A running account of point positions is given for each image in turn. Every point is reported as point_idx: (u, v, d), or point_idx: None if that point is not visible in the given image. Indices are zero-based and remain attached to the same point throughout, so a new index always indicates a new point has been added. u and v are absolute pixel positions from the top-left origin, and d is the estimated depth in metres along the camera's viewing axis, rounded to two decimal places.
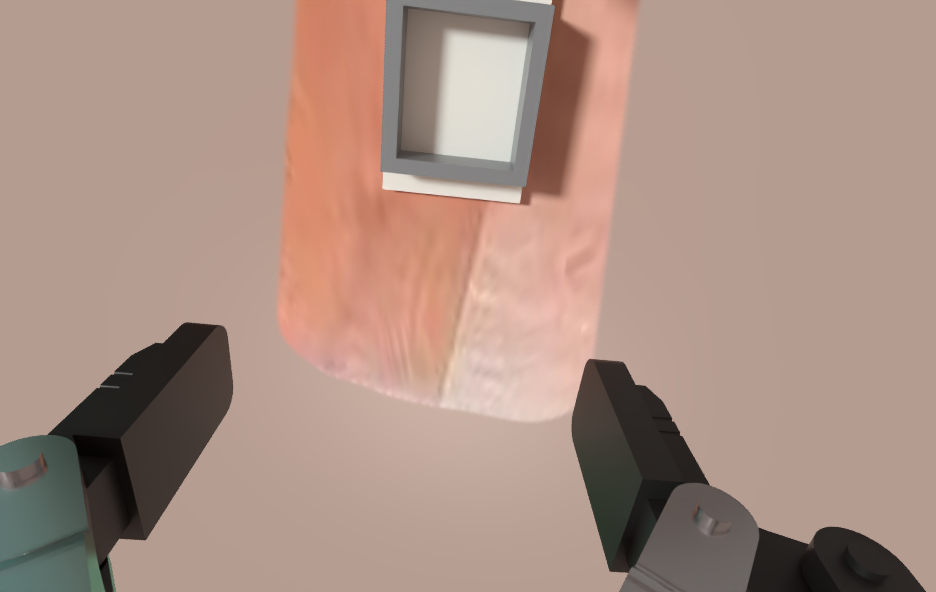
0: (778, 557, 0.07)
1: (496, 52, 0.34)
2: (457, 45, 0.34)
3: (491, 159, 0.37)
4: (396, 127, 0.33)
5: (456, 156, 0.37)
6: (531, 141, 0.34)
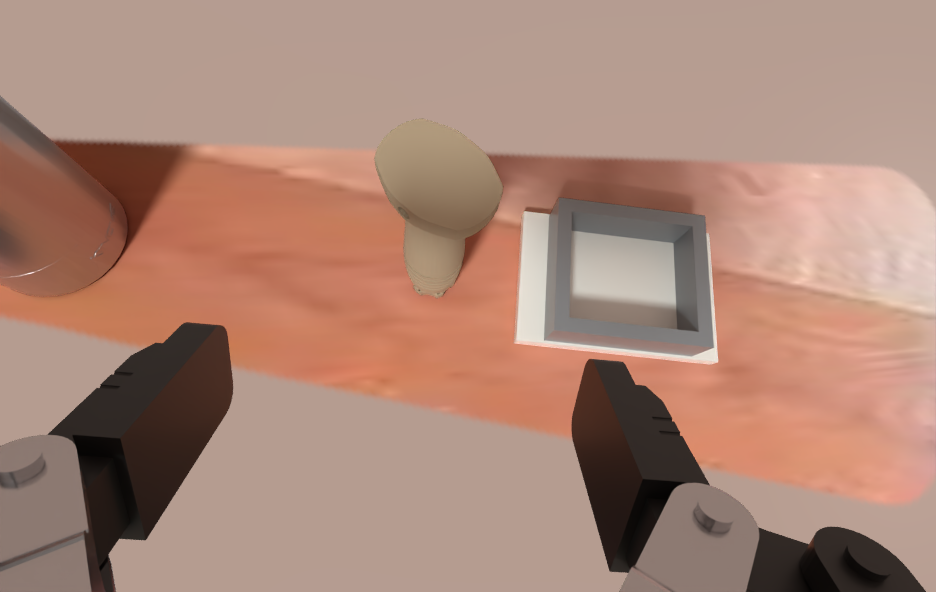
0: (778, 557, 0.07)
1: (584, 255, 0.39)
2: (582, 287, 0.38)
3: (673, 258, 0.40)
4: (670, 329, 0.35)
5: (676, 289, 0.39)
6: (664, 212, 0.37)
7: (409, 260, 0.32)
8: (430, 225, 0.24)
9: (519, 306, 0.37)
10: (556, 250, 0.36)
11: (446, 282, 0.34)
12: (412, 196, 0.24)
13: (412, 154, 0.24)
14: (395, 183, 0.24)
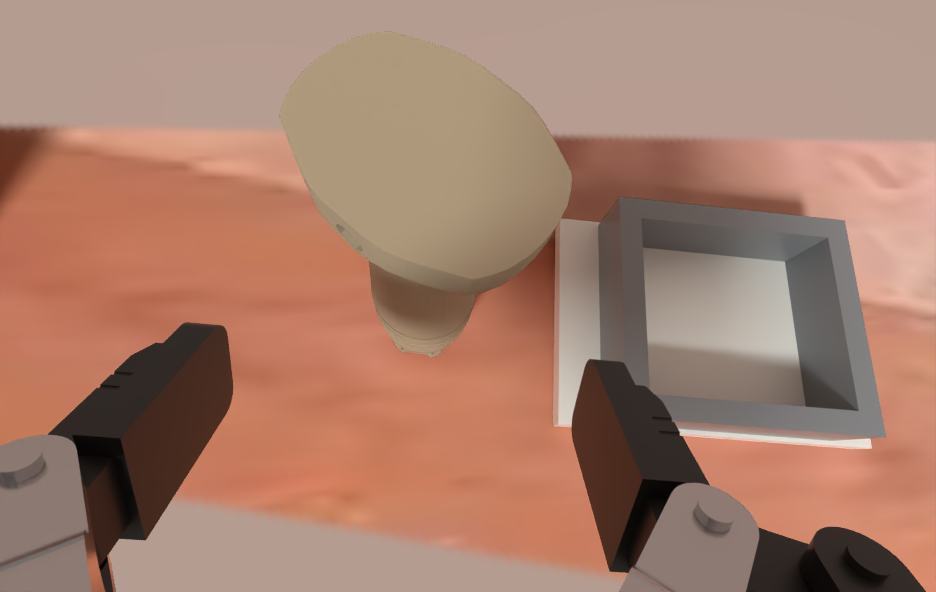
0: (778, 557, 0.07)
1: (655, 284, 0.26)
2: (655, 334, 0.25)
3: (788, 285, 0.26)
4: (813, 408, 0.21)
5: (797, 333, 0.25)
6: (783, 216, 0.24)
7: (381, 311, 0.18)
8: (410, 268, 0.10)
9: (560, 368, 0.24)
10: (620, 281, 0.22)
11: (446, 341, 0.20)
12: (367, 201, 0.10)
13: (367, 106, 0.11)
14: (326, 170, 0.10)
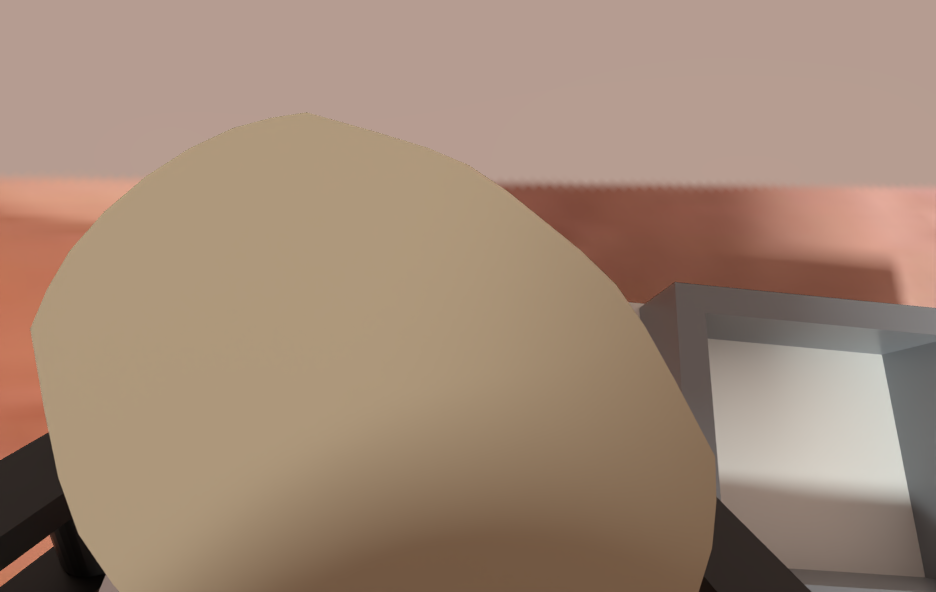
0: None
1: (716, 388, 0.19)
2: (719, 460, 0.19)
3: (888, 388, 0.20)
4: None
5: (905, 456, 0.19)
6: (894, 307, 0.18)
7: None
8: None
9: None
10: None
11: None
12: (222, 565, 0.04)
13: (244, 296, 0.05)
14: (128, 479, 0.04)
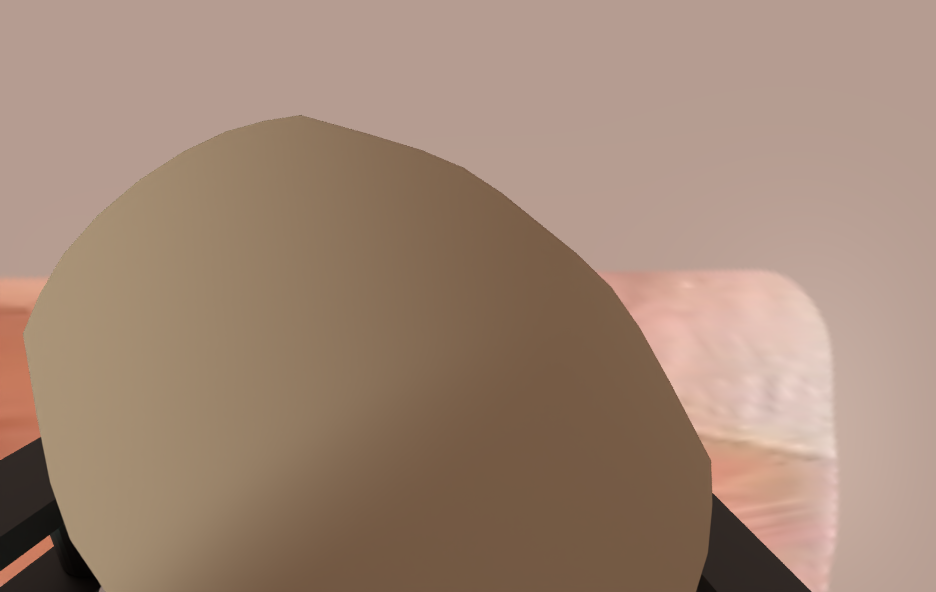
0: None
1: None
2: None
3: None
4: None
5: None
6: None
7: None
8: None
9: None
10: None
11: None
12: (215, 571, 0.04)
13: (237, 300, 0.05)
14: (120, 483, 0.04)
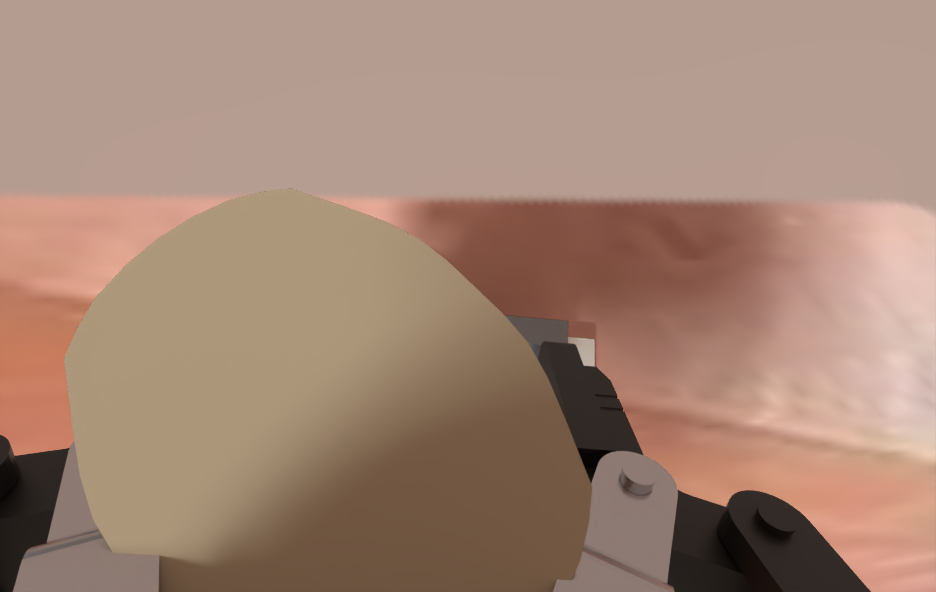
0: (699, 519, 0.08)
1: None
2: None
3: None
4: None
5: None
6: None
7: None
8: None
9: None
10: None
11: None
12: (199, 549, 0.05)
13: (229, 338, 0.06)
14: (132, 477, 0.06)
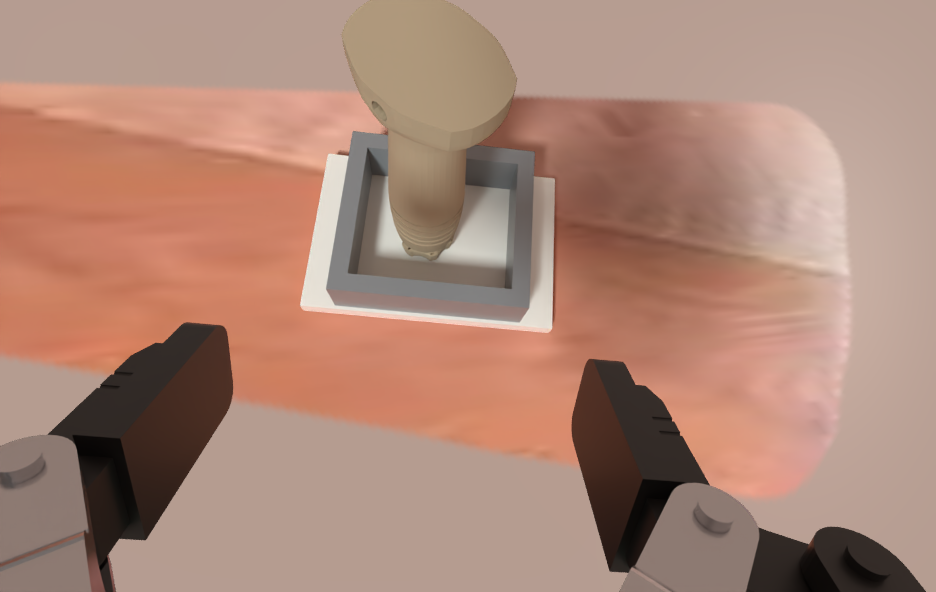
0: (778, 557, 0.07)
1: None
2: (391, 242, 0.32)
3: (508, 207, 0.33)
4: (476, 286, 0.28)
5: (507, 243, 0.32)
6: (484, 147, 0.31)
7: (394, 202, 0.25)
8: (414, 126, 0.17)
9: (309, 265, 0.31)
10: None
11: (441, 235, 0.27)
12: (391, 85, 0.17)
13: (394, 32, 0.18)
14: (368, 67, 0.17)
